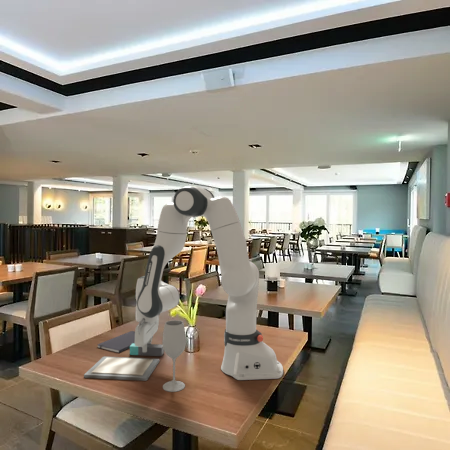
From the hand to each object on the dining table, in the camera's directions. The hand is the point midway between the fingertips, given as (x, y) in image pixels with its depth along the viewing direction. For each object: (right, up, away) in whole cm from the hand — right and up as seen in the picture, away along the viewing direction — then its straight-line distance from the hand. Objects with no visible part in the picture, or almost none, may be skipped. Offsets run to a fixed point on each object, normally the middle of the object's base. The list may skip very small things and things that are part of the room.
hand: (146, 349), depth 147 cm
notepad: (-5, -2, -15) cm, 16 cm away
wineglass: (+15, -3, -27) cm, 31 cm away
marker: (0, -2, 0) cm, 2 cm away
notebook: (-12, -2, +13) cm, 18 cm away
